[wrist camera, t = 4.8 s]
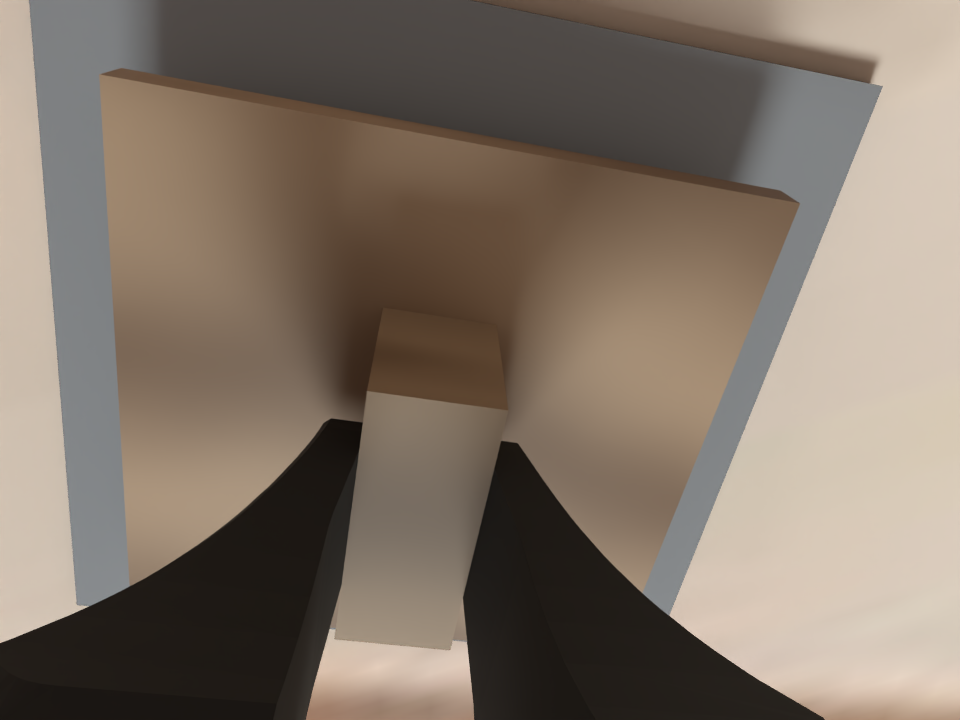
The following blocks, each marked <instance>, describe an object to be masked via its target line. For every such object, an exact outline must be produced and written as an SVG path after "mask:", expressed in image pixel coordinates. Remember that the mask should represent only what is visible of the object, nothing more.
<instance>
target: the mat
mask: <svg viewBox="0 0 960 720" xmlns="http://www.w3.org/2000/svg"><path fill="white" fill-rule="evenodd" d="M29 4H30V17H31V30H32V42H33V55H34V68H35V80H36V93H37V106H38V118H39V131H40V143H41V156H42V169H43V181H44V194H45V207H46V219H47V232H48V245H49V257H50V270H51V283H52V295H53V308H54V321H55V333H56V346H57V359H58V371H59V384H60V397H61V409H62V422H63V434H64V447H65V460H66V472H67V485H68V498H69V510H70V523H71V536H72V548H73V561H74V574H75V586H76V599H77V605H83V606H91V605H93V604H95V603H97V602H99V601H102V600H104V599H106V598H108V597H110V596H112V595H114V594H116V593H118V592H120V591H122V590H124V589H126V588H127V587H129V586H130V584H129V568H128V551H127V534H126V517H125V500H124V483H123V467H122V450H121V433H120V416H119V399H118V382H117V366H116V349H115V332H114V315H113V298H112V281H111V265H110V248H109V231H108V214H107V197H106V180H105V164H104V147H103V130H102V113H101V96H100V80H99V74H102V73H106V72H109V71H112V70H116V69H119V68H125V69H130V70H135V71H141V72H146V73H151V74H157V75H162V76H168V77H173V78H178V79H184V80H189V81H194V82H200V83H205V84H211V85H216V86H221V87H227V88H232V89H238V90H243V91H248V92H254V93H259V94H264V95H270V96H275V97H281V98H286V99H291V100H297V101H302V102H307V103H313V104H318V105H324V106H329V107H334V108H340V109H345V110H350V111H356V112H361V113H367V114H372V115H377V116H383V117H388V118H394V119H399V120H404V121H410V122H415V123H420V124H426V125H431V126H437V127H442V128H447V129H453V130H458V131H463V132H469V133H474V134H480V135H485V136H490V137H496V138H501V139H506V140H512V141H517V142H523V143H528V144H533V145H539V146H544V147H550V148H555V149H560V150H566V151H571V152H576V153H582V154H587V155H593V156H598V157H603V158H609V159H614V160H619V161H625V162H630V163H636V164H641V165H646V166H652V167H657V168H663V169H668V170H673V171H679V172H684V173H689V174H695V175H700V176H706V177H711V178H716V179H722V180H727V181H732V182H738V183H743V184H749V185H754V186H759V187H765V188H770V189H775V190H780V191H782V192H784V193H785V194H787V195H788V196H790V197H791V198H793V199H794V200H796V201H797V202H799V203H800V205H799V208H798V210H797V213H796V215H795V218H794V220H793V223H792V225H791V227H790V230H789V232H788V235H787V237H786V240H785V242H784V245H783V247H782V250H781V252H780V255H779V257H778V260H777V262H776V264H775V267H774V269H773V272H772V274H771V277H770V279H769V282H768V284H767V287H766V289H765V292H764V294H763V297H762V299H761V301H760V304H759V306H758V309H757V311H756V314H755V316H754V319H753V321H752V324H751V326H750V329H749V331H748V334H747V336H746V338H745V341H744V343H743V346H742V348H741V351H740V353H739V356H738V358H737V361H736V363H735V366H734V368H733V371H732V373H731V375H730V378H729V380H728V383H727V385H726V388H725V390H724V393H723V395H722V398H721V400H720V403H719V405H718V408H717V410H716V413H715V415H714V417H713V420H712V422H711V425H710V427H709V430H708V432H707V435H706V437H705V440H704V442H703V445H702V447H701V450H700V452H699V454H698V457H697V459H696V462H695V464H694V467H693V469H692V472H691V474H690V477H689V479H688V482H687V484H686V487H685V489H684V491H683V494H682V496H681V499H680V501H679V504H678V506H677V509H676V511H675V514H674V516H673V519H672V521H671V524H670V526H669V528H668V531H667V533H666V536H665V538H664V541H663V543H662V546H661V548H660V551H659V553H658V556H657V558H656V561H655V563H654V565H653V568H652V570H651V573H650V575H649V578H648V580H647V583H646V585H645V588H644V590H643V594H644V595H645V596H646V597H647V598H648V599H650V600H651V601H652V602H653V603H654V604H655V605H657V606H658V607H659V608H660V609H661V610H663V611H664V612H665V613H666V614H668V615H669V614H670V612H671V609H672V607H673V605H674V602H675V600H676V597H677V595H678V592H679V590H680V587H681V585H682V582H683V580H684V577H685V575H686V572H687V570H688V567H689V565H690V562H691V560H692V557H693V555H694V553H695V550H696V548H697V545H698V543H699V540H700V538H701V535H702V533H703V530H704V528H705V525H706V523H707V520H708V518H709V515H710V513H711V510H712V508H713V505H714V503H715V501H716V498H717V496H718V493H719V491H720V488H721V486H722V483H723V481H724V478H725V476H726V473H727V471H728V468H729V466H730V463H731V461H732V458H733V456H734V453H735V451H736V449H737V446H738V444H739V441H740V439H741V436H742V434H743V431H744V429H745V426H746V424H747V421H748V419H749V416H750V414H751V411H752V409H753V406H754V404H755V401H756V399H757V397H758V394H759V392H760V389H761V387H762V384H763V382H764V379H765V377H766V374H767V372H768V369H769V367H770V364H771V362H772V359H773V357H774V354H775V352H776V349H777V347H778V345H779V342H780V340H781V337H782V335H783V332H784V330H785V327H786V325H787V322H788V320H789V317H790V315H791V312H792V310H793V307H794V305H795V302H796V300H797V297H798V295H799V293H800V290H801V288H802V285H803V283H804V280H805V278H806V275H807V273H808V270H809V268H810V265H811V263H812V260H813V258H814V255H815V253H816V250H817V248H818V245H819V243H820V240H821V238H822V236H823V233H824V231H825V228H826V226H827V223H828V221H829V218H830V216H831V213H832V211H833V208H834V206H835V203H836V201H837V198H838V196H839V193H840V191H841V188H842V186H843V184H844V181H845V179H846V176H847V174H848V171H849V169H850V166H851V164H852V161H853V159H854V156H855V154H856V151H857V149H858V146H859V144H860V141H861V139H862V136H863V134H864V132H865V129H866V127H867V124H868V122H869V119H870V117H871V114H872V112H873V109H874V107H875V104H876V102H877V99H878V97H879V94H880V92H881V89H882V87H883V86H879V85H874V84H869V83H864V82H860V81H855V80H850V79H845V78H840V77H836V76H831V75H826V74H821V73H816V72H812V71H807V70H802V69H797V68H793V67H788V66H783V65H778V64H773V63H769V62H764V61H759V60H754V59H750V58H745V57H740V56H735V55H730V54H726V53H721V52H716V51H711V50H706V49H702V48H697V47H692V46H687V45H683V44H678V43H673V42H668V41H663V40H659V39H654V38H649V37H644V36H639V35H635V34H630V33H625V32H620V31H616V30H611V29H606V28H601V27H596V26H592V25H587V24H582V23H577V22H572V21H568V20H563V19H558V18H553V17H549V16H544V15H539V14H534V13H529V12H525V11H520V10H515V9H510V8H505V7H501V6H496V5H491V4H486V3H482V2H477V1H472V0H29ZM330 629H336V628H330ZM454 641H464V640H454ZM464 642H467V641H464Z"/></svg>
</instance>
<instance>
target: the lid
mask: <svg viewBox="0 0 960 720" xmlns="http://www.w3.org/2000/svg"><path fill="white" fill-rule="evenodd" d="M99 80H100V96H101V113H102V130H103V147H104V164H105V180H106V197H107V214H108V231H109V248H110V265H111V281H112V298H113V315H114V332H115V349H116V366H117V382H118V399H119V416H120V433H121V450H122V467H123V483H124V500H125V517H126V534H127V551H128V568H129V584H130V586H131V585H133V584H135V583H137V582H139V581H141V580H143V579H144V578H146V577H148V576H150V575H151V574H153V573H155V572H156V571H158V570H160V569H161V568H163V567H165V566H166V565H168V564H169V563H171V562H172V561H174V560H175V559H177V558H178V557H180V556H181V555H183V554H185V553H186V552H188V551H189V550H191V549H192V548H194V547H195V546H197V545H198V544H200V543H201V542H202V541H204V540H205V539H206V538H208V537H209V536H210V535H212V534H213V533H215V532H216V531H217V530H219V529H220V528H221V527H222V526H224V525H225V524H226V523H228V522H229V521H230V520H231V519H233V518H234V517H235V516H236V515H237V514H239V513H240V512H241V511H242V510H243V509H244V508H246V507H247V506H248V505H249V504H250V503H251V502H252V501H253V500H254V499H255V498H257V497H258V496H259V495H260V494H261V493H262V492H263V491H264V490H265V489H266V488H268V487H269V486H270V485H271V484H272V483H273V482H274V481H275V480H276V479H277V478H278V477H279V476H280V475H281V474H282V472H283V471H284V470H285V469H286V468H287V467H288V466H289V465H290V464H291V463H292V462H293V461H294V460H295V459H296V458H297V457H298V455H299V454H300V453H301V452H302V451H303V450H304V448H305V447H306V446H307V445H308V444H309V442H310V441H311V440H312V439H313V437H314V436H315V435H316V433H317V432H318V431H319V429H320V428H321V426H322V425H323V423H324V422H326V421H327V420H329V419H331V418H333V419H340V420H348V421H355V422H363V425H362V433H361V441H360V448H359V456H358V463H357V471H356V479H355V486H354V494H353V502H352V509H351V517H350V524H349V532H348V540H347V547H346V555H345V562H344V570H343V578H342V585H341V589H340V593H339V596H338V600H337V603H336V607H335V611H334V614H333V618H332V621H331V625H330V628H336V631H335V638H334V639H337V640H347V641H358V642H368V643H379V644H389V645H400V646H411V647H421V648H432V649H442V650H450V649H451V645H452V640H464V641H467V635H466V626H465V616H464V606H463V595H464V591H465V587H466V583H467V579H468V575H469V571H470V567H471V562H472V558H473V554H474V550H475V546H476V542H477V538H478V534H479V530H480V525H481V521H482V517H483V513H484V509H485V505H486V501H487V497H488V493H489V489H490V484H491V480H492V476H493V472H494V468H495V464H496V460H497V456H498V452H499V447H500V443H501V441H507V442H514V443H518V444H519V446H520V447H521V448H522V450H523V451H524V453H525V454H526V455H527V457H528V458H529V460H530V461H531V463H532V464H533V466H534V467H535V469H536V470H537V471H538V473H539V474H540V476H541V477H542V479H543V480H544V482H545V483H546V484H547V486H548V487H549V489H550V490H551V491H552V493H553V494H554V496H555V497H556V498H557V500H558V501H559V502H560V504H561V505H562V506H563V508H564V509H565V510H566V511H567V513H568V514H569V515H570V517H571V518H572V519H573V520H574V522H575V523H576V524H577V525H578V526H579V528H580V529H581V530H582V531H583V532H584V534H585V535H586V536H587V537H588V538H589V539H590V540H591V541H592V543H593V544H594V545H595V546H596V547H597V548H598V549H599V551H600V552H601V553H602V554H603V555H604V556H605V557H606V558H607V559H608V560H609V561H610V562H611V563H612V564H613V565H614V566H615V567H616V568H617V569H618V570H619V571H620V572H621V573H622V574H623V575H624V576H625V577H626V578H627V579H628V580H629V581H630V582H631V583H632V584H633V585H634V586H635V587H636V588H637V589H639V590H640V591H641V592H642V593H643V590H644V588H645V585H646V583H647V580H648V578H649V575H650V573H651V570H652V568H653V565H654V563H655V561H656V558H657V556H658V553H659V551H660V548H661V546H662V543H663V541H664V538H665V536H666V533H667V531H668V528H669V526H670V524H671V521H672V519H673V516H674V514H675V511H676V509H677V506H678V504H679V501H680V499H681V496H682V494H683V491H684V489H685V487H686V484H687V482H688V479H689V477H690V474H691V472H692V469H693V467H694V464H695V462H696V459H697V457H698V454H699V452H700V450H701V447H702V445H703V442H704V440H705V437H706V435H707V432H708V430H709V427H710V425H711V422H712V420H713V417H714V415H715V413H716V410H717V408H718V405H719V403H720V400H721V398H722V395H723V393H724V390H725V388H726V385H727V383H728V380H729V378H730V375H731V373H732V371H733V368H734V366H735V363H736V361H737V358H738V356H739V353H740V351H741V348H742V346H743V343H744V341H745V338H746V336H747V334H748V331H749V329H750V326H751V324H752V321H753V319H754V316H755V314H756V311H757V309H758V306H759V304H760V301H761V299H762V297H763V294H764V292H765V289H766V287H767V284H768V282H769V279H770V277H771V274H772V272H773V269H774V267H775V264H776V262H777V260H778V257H779V255H780V252H781V250H782V247H783V245H784V242H785V240H786V237H787V235H788V232H789V230H790V227H791V225H792V223H793V220H794V218H795V215H796V213H797V210H798V208H799V205H800V203H799V202H797V201H796V200H794V199H793V198H791V197H790V196H788V195H787V194H785V193H784V192H782V191H780V190H775V189H770V188H765V187H759V186H754V185H749V184H743V183H738V182H732V181H727V180H722V179H716V178H711V177H706V176H700V175H695V174H689V173H684V172H679V171H673V170H668V169H663V168H657V167H652V166H646V165H641V164H636V163H630V162H625V161H619V160H614V159H609V158H603V157H598V156H593V155H587V154H582V153H576V152H571V151H566V150H560V149H555V148H550V147H544V146H539V145H533V144H528V143H523V142H517V141H512V140H506V139H501V138H496V137H490V136H485V135H480V134H474V133H469V132H463V131H458V130H453V129H447V128H442V127H437V126H431V125H426V124H420V123H415V122H410V121H404V120H399V119H394V118H388V117H383V116H377V115H372V114H367V113H361V112H356V111H350V110H345V109H340V108H334V107H329V106H324V105H318V104H313V103H307V102H302V101H297V100H291V99H286V98H281V97H275V96H270V95H264V94H259V93H254V92H248V91H243V90H238V89H232V88H227V87H221V86H216V85H211V84H205V83H200V82H194V81H189V80H184V79H178V78H173V77H168V76H162V75H157V74H151V73H146V72H141V71H135V70H130V69H125V68H119V69H116V70H112V71H109V72H106V73H102V74H99Z"/></svg>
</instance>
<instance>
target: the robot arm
mask: <svg viewBox="0 0 960 720" xmlns="http://www.w3.org/2000/svg"><path fill="white" fill-rule="evenodd" d="M362 425H363V422H355V421H348V420H340V419H333V418H331V419H329V420H327V421H326V422H324V423H323V425H322V426H321V428H320V429H319V431H318V432H317V433H316V435H315V436H314V437H313V439H312V440H311V441H310V442H309V444H308V445H307V446H306V447H305V448H304V450H303V451H302V452H301V453H300V454H299V455H298V457H297V458H296V459H295V460H294V461H293V462H292V463H291V464H290V465H289V466H288V467H287V468H286V469H285V470H284V471H283V472H282V474H281V475H280V476H279V477H278V478H277V479H276V480H275V481H274V482H273V483H272V484H271V485H270V486H269V487H268V488H266V489H265V490H264V491H263V492H262V493H261V494H260V495H259V496H258V497H257V498H255V499H254V500H253V501H252V502H251V503H250V504H249V505H248V506H247V507H246V508H244V509H243V510H242V511H241V512H240V513H239V514H237V515H236V516H235V517H234V518H233V519H231V520H230V521H229V522H228V523H226V524H225V525H224V526H222V527H221V528H220V529H219V530H217V531H216V532H215V533H213V534H212V535H210V536H209V537H208V538H206V539H205V540H204V541H202V542H201V543H200V544H198V545H197V546H195V547H194V548H192V549H191V550H189V551H188V552H186V553H185V554H183V555H181V556H180V557H178V558H177V559H175V560H174V561H172V562H171V563H169V564H168V565H166V566H165V567H163V568H161V569H160V570H158V571H156V572H155V573H153V574H151V575H150V576H148V577H146V578H144V579H143V580H141V581H139V582H137V583H135V584H133V585H131V586H129V587H127V588H126V589H124V590H122V591H120V592H118V593H116V594H114V595H112V596H110V597H108V598H106V599H104V600H102V601H99V602H97V603H95V604H93V605H91V606H89V607H87V608H85V609H83V610H80V611H78V612H76V613H74V614H72V615H69V616H67V617H64V618H62V619H59V620H57V621H55V622H52V623H50V624H47V625H45V626H42V627H40V628H37V629H35V630H33V631H30V632H28V633H25V634H23V635H20V636H18V637H15V638H13V639H10V640H8V641H5V642H2V643H0V720H306V716H307V711H308V707H309V703H310V698H311V694H312V690H313V686H314V682H315V679H316V675H317V672H318V668H319V664H320V661H321V657H322V654H323V650H324V647H325V643H326V639H327V636H328V632H329V629H330V625H331V621H332V618H333V614H334V611H335V607H336V603H337V600H338V596H339V593H340V589H341V585H342V578H343V570H344V562H345V555H346V547H347V540H348V532H349V524H350V517H351V509H352V502H353V494H354V486H355V479H356V471H357V463H358V456H359V448H360V441H361V433H362ZM463 606H464V616H465V626H466V635H467V645H468V654H469V664H470V674H471V683H472V693H473V703H474V720H824V718H823V717H821V716H819V715H818V714H816V713H814V712H812V711H811V710H809V709H807V708H806V707H804V706H802V705H801V704H799V703H797V702H795V701H794V700H792V699H790V698H789V697H787V696H785V695H783V694H782V693H780V692H778V691H777V690H775V689H773V688H771V687H770V686H768V685H766V684H765V683H763V682H761V681H759V680H758V679H756V678H755V677H753V676H752V675H750V674H748V673H747V672H745V671H744V670H742V669H741V668H740V667H738V666H737V665H735V664H734V663H732V662H731V661H729V660H728V659H726V658H725V657H723V656H722V655H720V654H719V653H717V652H716V651H714V650H713V649H712V648H710V647H709V646H708V645H706V644H705V643H703V642H702V641H701V640H699V639H698V638H697V637H695V636H694V635H693V634H691V633H690V632H689V631H687V630H686V629H685V628H684V627H682V626H681V625H680V624H679V623H677V622H676V621H675V620H674V619H672V618H671V617H670V616H669V615H668V614H666V613H665V612H664V611H663V610H661V609H660V608H659V607H658V606H657V605H655V604H654V603H653V602H652V601H651V600H650V599H648V598H647V597H646V596H645V595H644V594H643V593H642V592H641V591H640V590H639V589H637V588H636V587H635V586H634V585H633V584H632V583H631V582H630V581H629V580H628V579H627V578H626V577H625V576H624V575H623V574H622V573H621V572H620V571H619V570H618V569H617V568H616V567H615V566H614V565H613V564H612V563H611V562H610V561H609V560H608V559H607V558H606V557H605V556H604V555H603V554H602V553H601V552H600V551H599V549H598V548H597V547H596V546H595V545H594V544H593V543H592V541H591V540H590V539H589V538H588V537H587V536H586V535H585V534H584V532H583V531H582V530H581V529H580V528H579V526H578V525H577V524H576V523H575V522H574V520H573V519H572V518H571V517H570V515H569V514H568V513H567V511H566V510H565V509H564V508H563V506H562V505H561V504H560V502H559V501H558V500H557V498H556V497H555V496H554V494H553V493H552V491H551V490H550V489H549V487H548V486H547V484H546V483H545V482H544V480H543V479H542V477H541V476H540V474H539V473H538V471H537V470H536V469H535V467H534V466H533V464H532V463H531V461H530V460H529V458H528V457H527V455H526V454H525V453H524V451H523V450H522V448H521V447H520V446H519V444H518V443H514V442H507V441H501V443H500V447H499V452H498V456H497V460H496V464H495V468H494V472H493V476H492V480H491V484H490V489H489V493H488V497H487V501H486V505H485V509H484V513H483V517H482V521H481V525H480V530H479V534H478V538H477V542H476V546H475V550H474V554H473V558H472V562H471V567H470V571H469V575H468V579H467V583H466V587H465V591H464V595H463Z"/></svg>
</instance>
